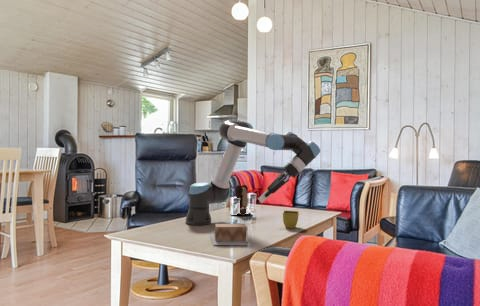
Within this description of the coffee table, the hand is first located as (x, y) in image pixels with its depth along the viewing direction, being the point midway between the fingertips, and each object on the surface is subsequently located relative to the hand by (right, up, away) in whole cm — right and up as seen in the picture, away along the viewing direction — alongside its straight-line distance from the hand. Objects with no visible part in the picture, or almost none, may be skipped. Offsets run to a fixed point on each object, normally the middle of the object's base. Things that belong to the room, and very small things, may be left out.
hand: (259, 200), depth 185 cm
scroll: (-9, -19, +72) cm, 75 cm away
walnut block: (-7, -15, 0) cm, 17 cm away
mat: (-16, -19, -1) cm, 25 cm away
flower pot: (+20, -20, +35) cm, 45 cm away
